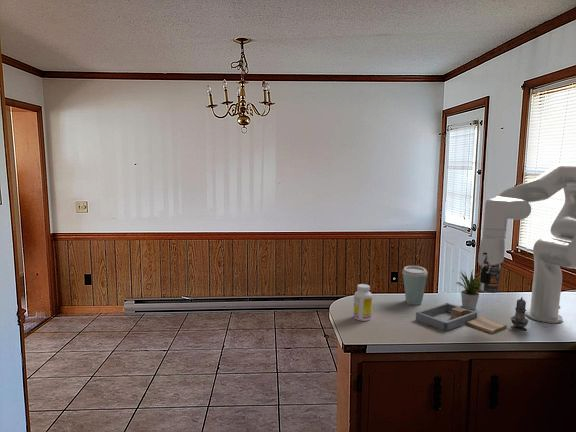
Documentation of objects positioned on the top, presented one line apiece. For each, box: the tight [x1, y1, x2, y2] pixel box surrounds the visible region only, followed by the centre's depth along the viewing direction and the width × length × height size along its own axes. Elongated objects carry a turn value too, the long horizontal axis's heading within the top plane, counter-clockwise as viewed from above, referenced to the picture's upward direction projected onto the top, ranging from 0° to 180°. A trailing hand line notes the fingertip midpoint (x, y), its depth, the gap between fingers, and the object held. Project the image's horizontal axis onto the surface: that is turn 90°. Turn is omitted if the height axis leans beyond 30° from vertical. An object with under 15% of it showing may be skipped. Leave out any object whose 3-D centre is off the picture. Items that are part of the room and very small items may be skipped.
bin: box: [415, 302, 478, 332], centre depth 163 cm, size 20×13×3 cm, turn 126°
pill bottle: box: [479, 263, 501, 294], centre depth 155 cm, size 6×6×11 cm
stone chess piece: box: [510, 296, 530, 332], centre depth 156 cm, size 6×6×12 cm
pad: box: [465, 316, 508, 335], centre depth 158 cm, size 10×10×1 cm
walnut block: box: [450, 306, 467, 320], centre depth 165 cm, size 4×4×4 cm
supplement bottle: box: [353, 283, 373, 322], centre depth 162 cm, size 7×7×13 cm
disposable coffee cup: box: [401, 265, 429, 306], centre depth 182 cm, size 11×11×15 cm
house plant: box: [451, 268, 482, 310], centre depth 177 cm, size 14×14×16 cm
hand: (489, 281), depth 156 cm, fingers closed on pill bottle, 6 cm apart
